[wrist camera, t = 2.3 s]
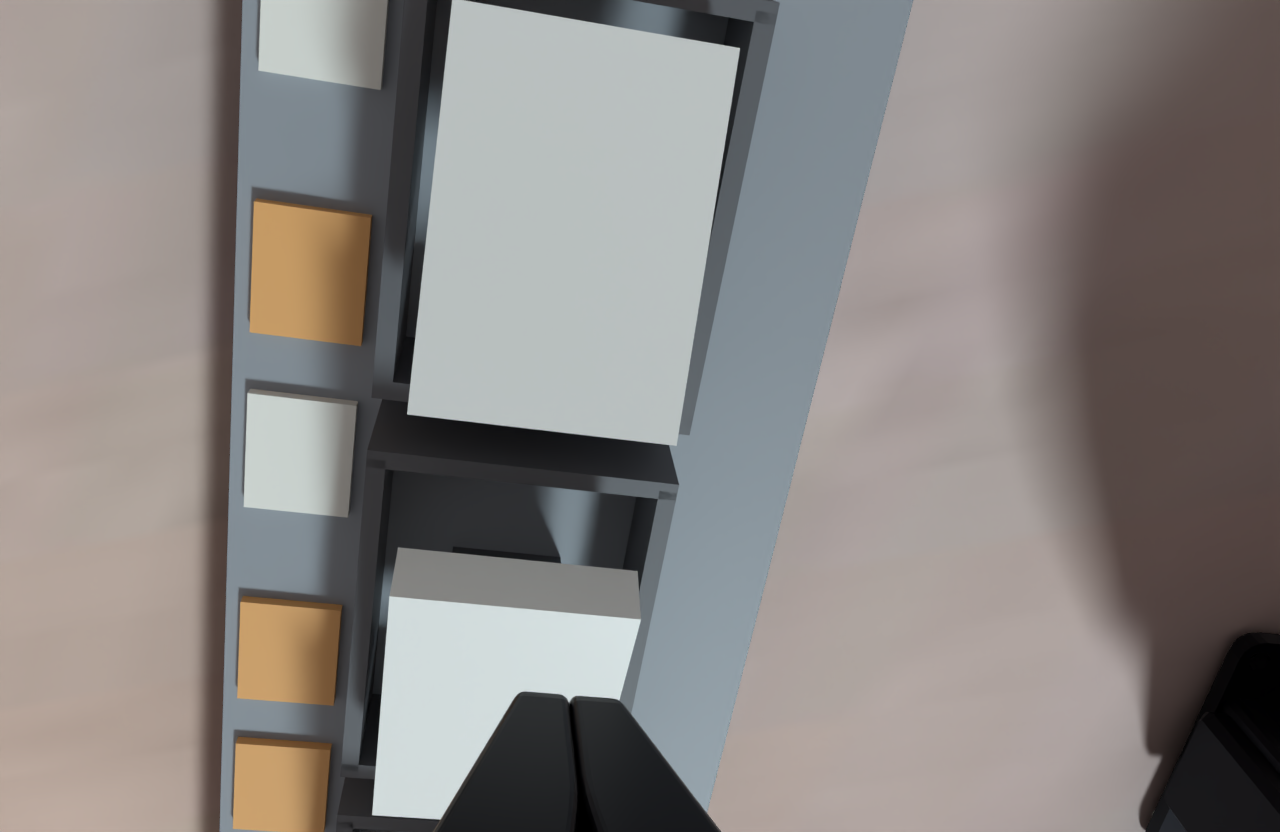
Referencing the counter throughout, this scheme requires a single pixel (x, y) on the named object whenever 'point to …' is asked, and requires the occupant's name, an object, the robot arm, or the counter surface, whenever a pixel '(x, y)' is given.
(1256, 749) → the robot arm
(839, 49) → the switch panel
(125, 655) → the counter surface
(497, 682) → the middle rocker
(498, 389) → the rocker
